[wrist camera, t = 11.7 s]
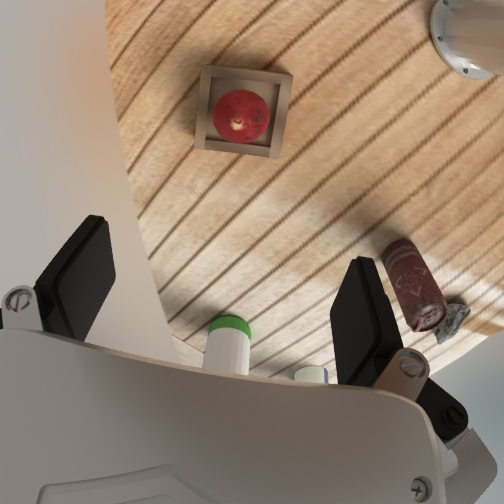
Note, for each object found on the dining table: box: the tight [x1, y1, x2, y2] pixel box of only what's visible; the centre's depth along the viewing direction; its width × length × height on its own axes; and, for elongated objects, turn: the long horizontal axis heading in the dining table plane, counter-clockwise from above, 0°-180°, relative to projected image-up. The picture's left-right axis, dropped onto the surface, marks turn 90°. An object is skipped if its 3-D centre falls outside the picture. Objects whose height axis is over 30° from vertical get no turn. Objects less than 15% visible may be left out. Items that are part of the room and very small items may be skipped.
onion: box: [212, 89, 270, 144], centre depth 30 cm, size 6×6×8 cm
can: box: [383, 240, 447, 332], centre depth 42 cm, size 6×6×14 cm
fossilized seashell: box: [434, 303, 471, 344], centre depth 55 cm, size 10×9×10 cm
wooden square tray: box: [194, 64, 293, 159], centre depth 34 cm, size 10×10×3 cm
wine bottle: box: [202, 316, 251, 375], centre depth 47 cm, size 8×8×30 cm
